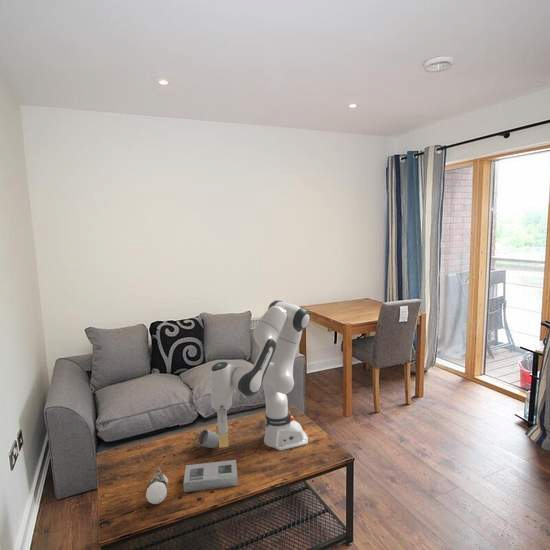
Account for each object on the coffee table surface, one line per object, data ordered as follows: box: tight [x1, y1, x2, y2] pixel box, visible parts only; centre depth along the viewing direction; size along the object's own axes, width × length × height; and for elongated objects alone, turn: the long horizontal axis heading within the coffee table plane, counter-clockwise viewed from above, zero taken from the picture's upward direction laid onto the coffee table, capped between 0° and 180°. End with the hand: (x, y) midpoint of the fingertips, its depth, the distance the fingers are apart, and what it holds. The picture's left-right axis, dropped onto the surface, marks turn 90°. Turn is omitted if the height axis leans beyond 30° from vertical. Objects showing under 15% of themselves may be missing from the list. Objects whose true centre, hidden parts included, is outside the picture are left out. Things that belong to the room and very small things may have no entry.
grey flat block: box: [183, 459, 239, 493], centre depth 162 cm, size 22×12×4 cm, turn 99°
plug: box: [215, 421, 230, 448], centre depth 161 cm, size 5×4×9 cm
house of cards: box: [149, 466, 169, 487], centre depth 157 cm, size 9×9×8 cm
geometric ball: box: [145, 482, 168, 505], centre depth 149 cm, size 8×8×8 cm
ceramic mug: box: [197, 428, 219, 449], centre depth 187 cm, size 11×8×8 cm
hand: (223, 432), depth 161 cm, fingers closed on plug, 4 cm apart
